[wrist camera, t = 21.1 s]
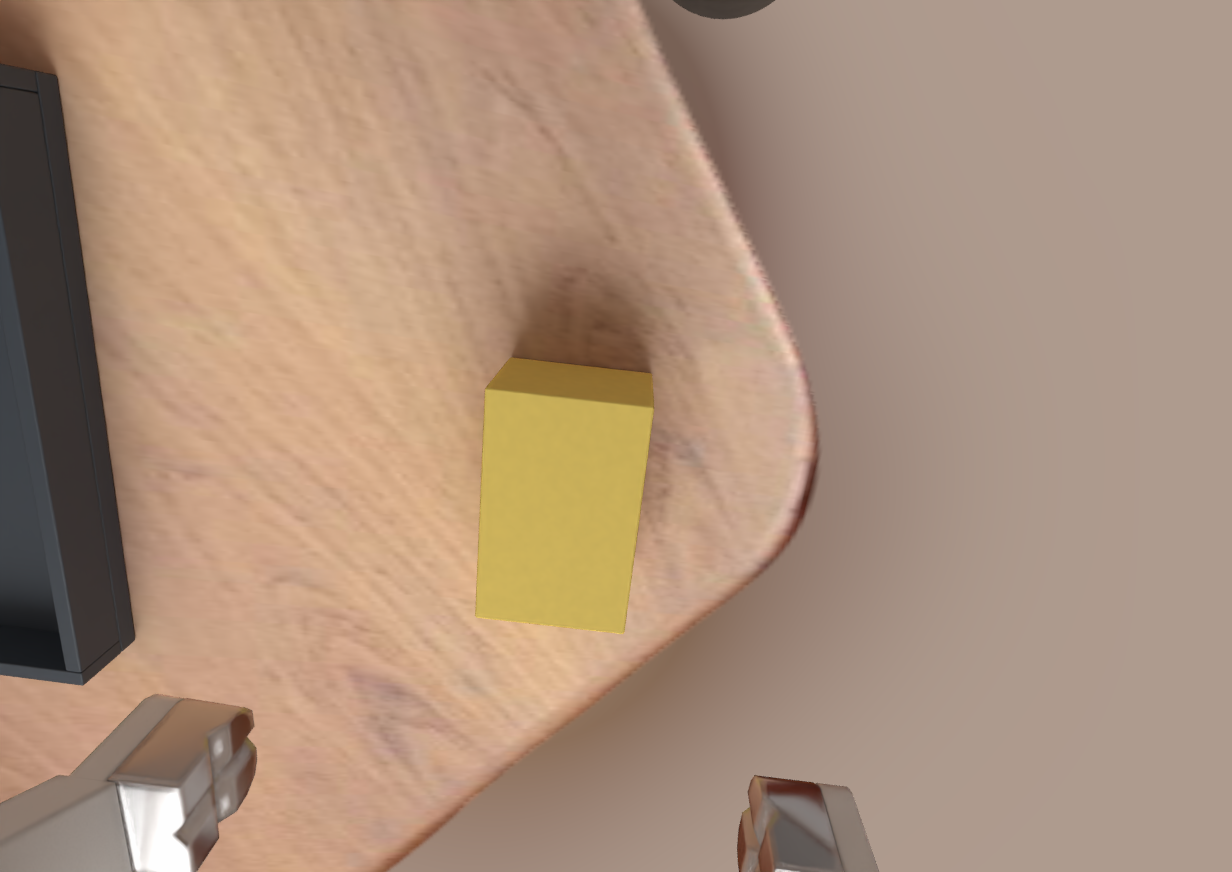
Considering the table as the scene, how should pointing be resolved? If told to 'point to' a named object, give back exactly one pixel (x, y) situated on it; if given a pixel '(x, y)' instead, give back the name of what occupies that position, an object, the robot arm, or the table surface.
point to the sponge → (561, 493)
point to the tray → (51, 414)
